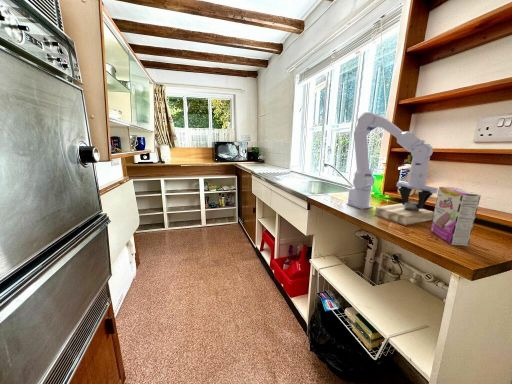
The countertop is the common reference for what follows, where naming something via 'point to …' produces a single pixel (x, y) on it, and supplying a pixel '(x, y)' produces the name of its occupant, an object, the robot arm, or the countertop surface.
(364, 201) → the robot arm
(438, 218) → the candy bar box
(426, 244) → the countertop surface
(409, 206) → the peg
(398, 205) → the board
